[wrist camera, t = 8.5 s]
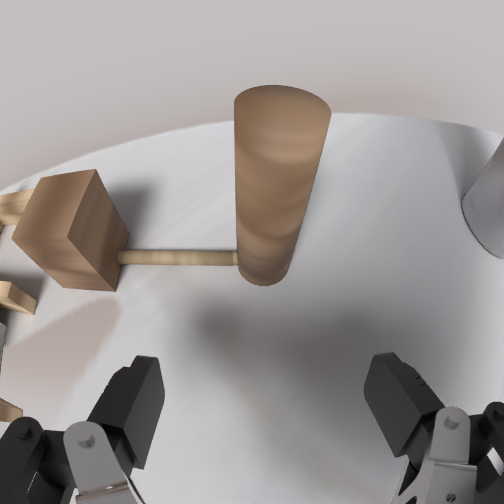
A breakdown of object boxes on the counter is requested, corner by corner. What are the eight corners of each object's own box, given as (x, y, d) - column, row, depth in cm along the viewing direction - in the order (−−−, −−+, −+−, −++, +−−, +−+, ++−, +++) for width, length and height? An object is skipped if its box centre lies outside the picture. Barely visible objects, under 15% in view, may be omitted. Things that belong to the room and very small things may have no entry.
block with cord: (285, 233, 21) (317, 83, 10) (291, 295, 18) (347, 147, 8) (79, 234, 20) (11, 123, 10) (63, 287, 18) (-34, 184, 7)
